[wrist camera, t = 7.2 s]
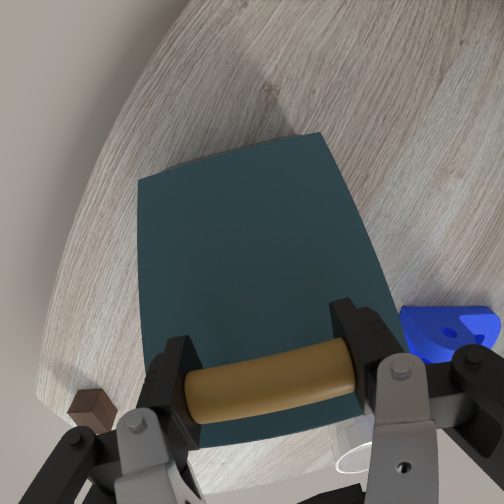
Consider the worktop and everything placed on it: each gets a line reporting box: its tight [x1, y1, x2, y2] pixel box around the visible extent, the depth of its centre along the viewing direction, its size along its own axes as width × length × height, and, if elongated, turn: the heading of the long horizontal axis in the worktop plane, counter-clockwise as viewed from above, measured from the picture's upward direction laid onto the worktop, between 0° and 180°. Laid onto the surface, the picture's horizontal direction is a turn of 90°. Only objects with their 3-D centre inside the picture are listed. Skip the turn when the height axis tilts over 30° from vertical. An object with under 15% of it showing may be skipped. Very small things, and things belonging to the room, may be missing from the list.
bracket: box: [399, 306, 501, 363], centre depth 31 cm, size 18×8×9 cm, turn 84°
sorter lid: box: [137, 132, 410, 449], centre depth 14 cm, size 15×12×5 cm
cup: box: [328, 414, 375, 474], centre depth 33 cm, size 7×7×11 cm
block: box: [67, 389, 117, 434], centre depth 35 cm, size 4×4×4 cm
